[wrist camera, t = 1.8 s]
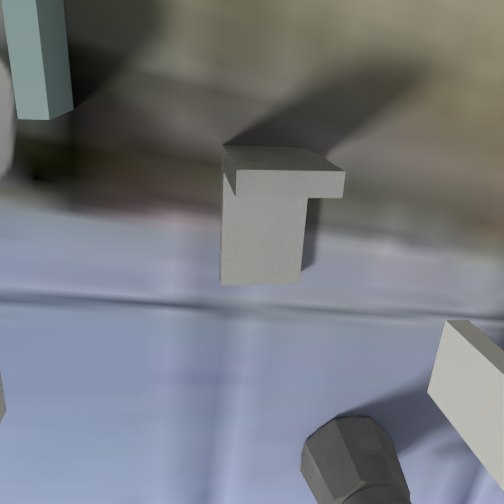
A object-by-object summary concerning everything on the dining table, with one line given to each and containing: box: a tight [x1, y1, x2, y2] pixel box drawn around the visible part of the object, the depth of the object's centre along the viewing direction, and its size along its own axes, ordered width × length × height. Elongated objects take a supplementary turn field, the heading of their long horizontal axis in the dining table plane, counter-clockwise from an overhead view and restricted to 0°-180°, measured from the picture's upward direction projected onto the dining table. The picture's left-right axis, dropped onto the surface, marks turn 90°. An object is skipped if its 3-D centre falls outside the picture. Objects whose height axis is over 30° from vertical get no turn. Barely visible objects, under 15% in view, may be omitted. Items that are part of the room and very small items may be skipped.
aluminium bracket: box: [219, 145, 346, 286], centre depth 30 cm, size 10×6×8 cm, turn 177°
